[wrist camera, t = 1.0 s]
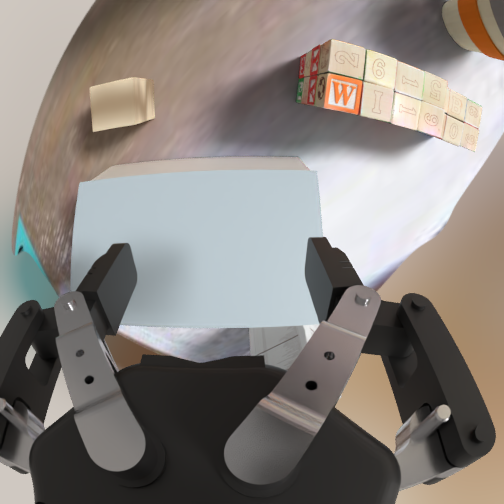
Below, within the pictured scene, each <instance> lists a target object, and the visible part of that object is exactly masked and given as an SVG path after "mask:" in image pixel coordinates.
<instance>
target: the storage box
mask: <svg viewBox="0 0 504 504" xmlns="http://www.w3.org/2000/svg"><path fill="white" fill-rule="evenodd" d="M212 170H307V171H310V169H309V168H308V167H307V166H306V165H305V164H304V163H303V162H302V160H301V159H300V158H299V157H286V156H226V157H200V158H183V159H169V160H157V161H146V162H137V163H128V164H120V165H113V166H111V167H110V168H108V169H107V170H105V171H104V172H102V173H101V174H100V175H98V176H97V177H95V178H94V179H93V180H91V181H94V180H101V179H109V178H118V177H127V176H137V175H147V174H159V173H173V172H190V171H212Z"/></svg>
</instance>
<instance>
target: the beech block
mask: <svg viewBox="0 0 504 504" xmlns="http://www.w3.org/2000/svg"><path fill="white" fill-rule="evenodd" d="M90 102H91V115H92V126H93V132H96V131H101V130H106V129H112V128H117V127H123V126H130V125H136V124H139V123H142V122H145V121H148V120H151V119H154V118H155V111H154V87H153V80H151V79H143V78H135V77H132V78H127V79H122V80H118V81H113V82H109V83H105V84H101V85H97V86H93V87H90Z"/></svg>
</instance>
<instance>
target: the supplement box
mask: <svg viewBox="0 0 504 504" xmlns="http://www.w3.org/2000/svg"><path fill="white" fill-rule="evenodd" d="M319 325H320V324H315V325H300V326H281V327H256V328H249V341H250V356H260V355H264V359H265V364H267V365H272V366H276V367H279V368H282V369H284V370H286V371H288V369H289V368H290V367H291V365H292V364H293V362H294V361H295V360H296V358H297V357H298V355H299V354H300V353H301V351H302V350H303V348H304V347H305V345H306V344H307V343H308V341H309V340H310V338H311V337H312V335H313V334H314V332H315V331H316V329H317V328H318V326H319ZM340 398H341V396H340Z"/></svg>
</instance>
